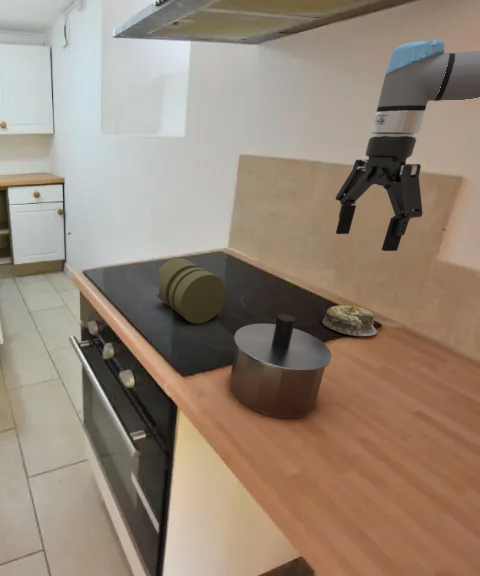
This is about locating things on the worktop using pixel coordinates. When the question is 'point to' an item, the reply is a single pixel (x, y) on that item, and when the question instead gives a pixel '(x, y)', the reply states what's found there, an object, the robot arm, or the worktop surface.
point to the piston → (191, 290)
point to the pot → (273, 388)
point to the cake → (350, 320)
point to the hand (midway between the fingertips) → (363, 241)
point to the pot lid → (282, 346)
